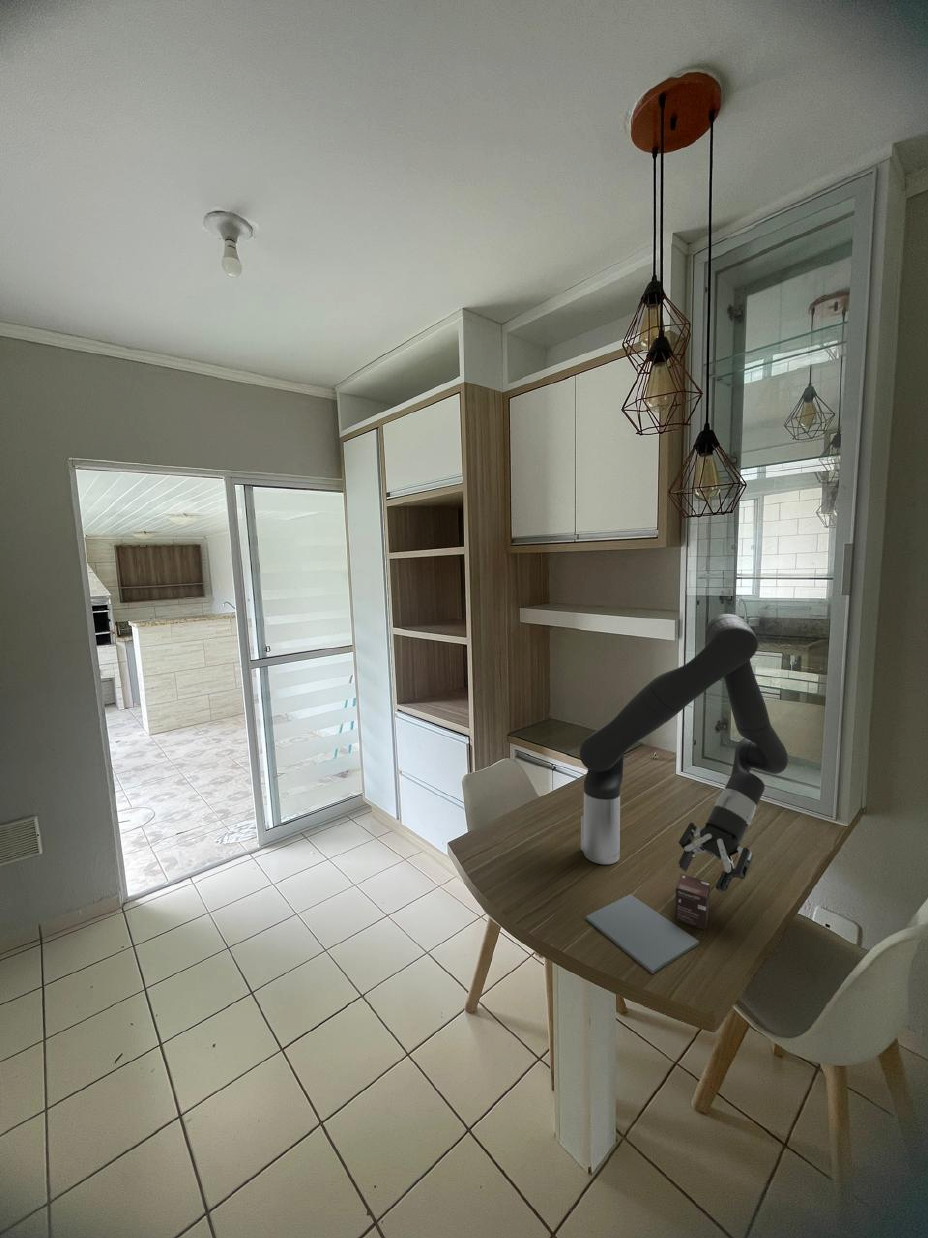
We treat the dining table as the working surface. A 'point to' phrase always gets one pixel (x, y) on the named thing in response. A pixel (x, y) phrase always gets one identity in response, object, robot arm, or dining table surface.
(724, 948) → the dining table surface
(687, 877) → the box
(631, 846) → the dining table surface
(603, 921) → the mat
